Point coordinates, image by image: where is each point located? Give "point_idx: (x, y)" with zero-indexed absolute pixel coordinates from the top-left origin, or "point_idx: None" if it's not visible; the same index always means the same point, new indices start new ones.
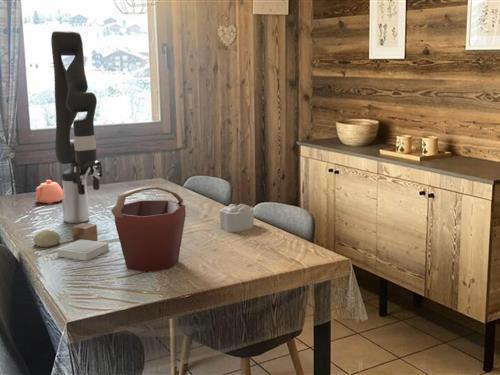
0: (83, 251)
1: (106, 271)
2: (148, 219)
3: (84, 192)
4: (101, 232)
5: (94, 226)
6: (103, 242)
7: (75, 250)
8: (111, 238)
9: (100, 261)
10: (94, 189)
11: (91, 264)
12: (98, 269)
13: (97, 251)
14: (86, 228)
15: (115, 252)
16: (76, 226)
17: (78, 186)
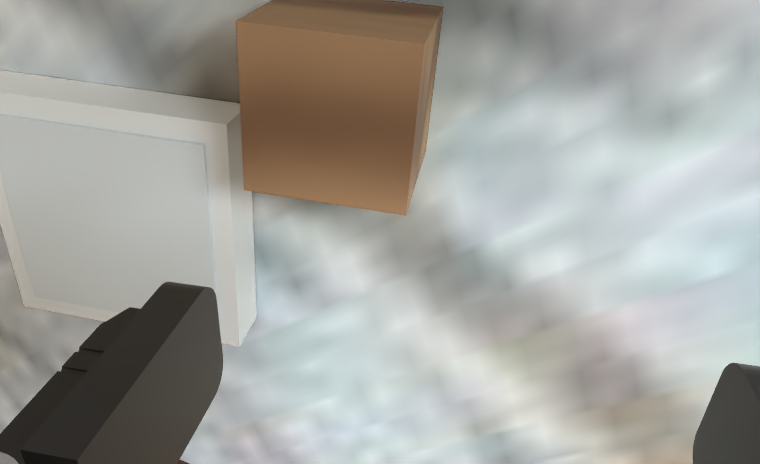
0: (32, 284)
1: (12, 414)
2: None
3: (196, 406)
4: (661, 65)
5: (375, 204)
6: (234, 317)
7: (18, 228)
8: (492, 233)
9: None
10: (722, 381)
11: (31, 326)
12: (6, 378)
13: None
14: (255, 191)
15: (236, 364)
16: (274, 52)
17: (13, 444)
